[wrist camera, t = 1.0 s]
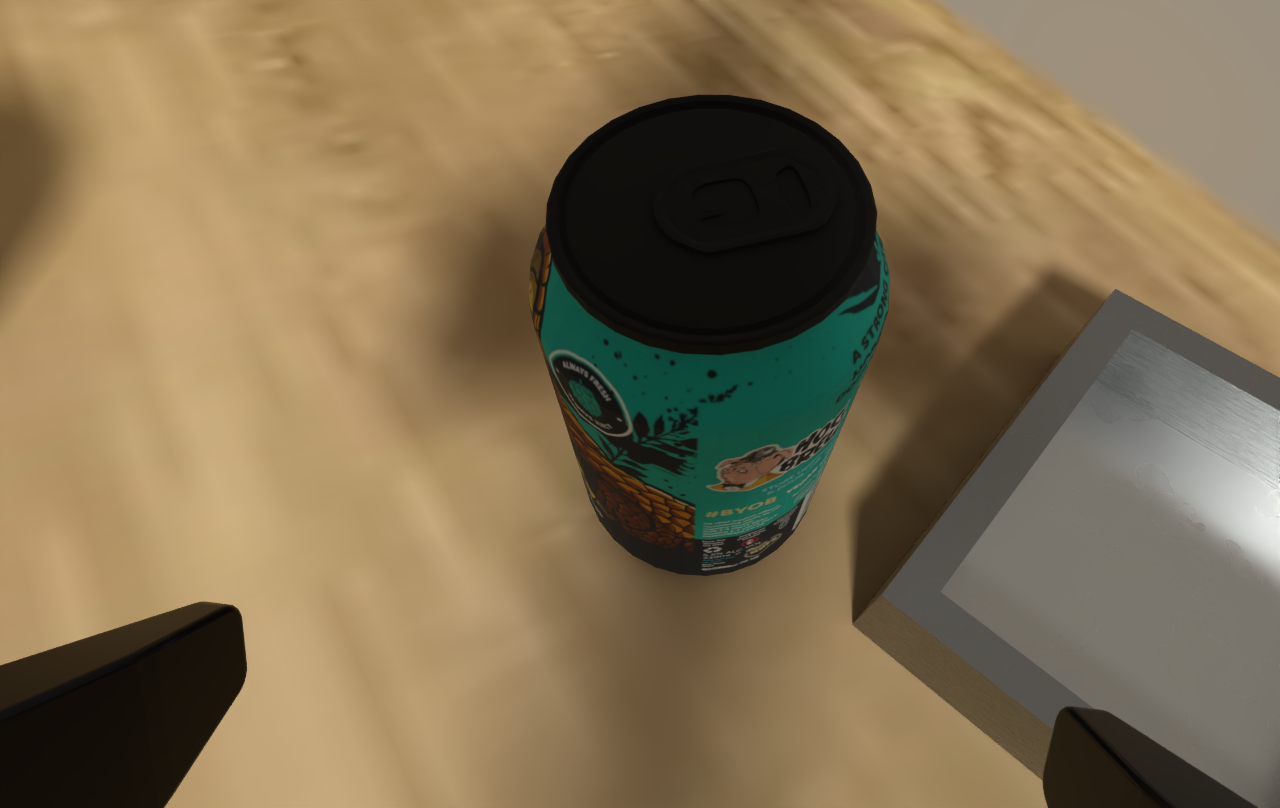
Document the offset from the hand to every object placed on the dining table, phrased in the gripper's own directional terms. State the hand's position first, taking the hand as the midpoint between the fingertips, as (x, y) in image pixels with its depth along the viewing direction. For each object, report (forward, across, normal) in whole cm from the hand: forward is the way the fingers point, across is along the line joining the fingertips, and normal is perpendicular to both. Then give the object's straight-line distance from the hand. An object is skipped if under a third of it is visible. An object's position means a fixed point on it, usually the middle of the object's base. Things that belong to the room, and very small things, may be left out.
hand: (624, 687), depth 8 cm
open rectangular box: (+13, -13, +5) cm, 19 cm away
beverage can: (+15, 0, +3) cm, 16 cm away
